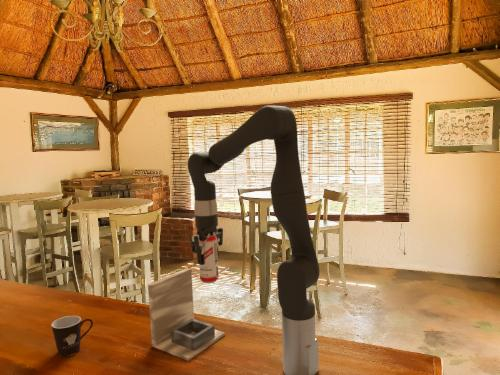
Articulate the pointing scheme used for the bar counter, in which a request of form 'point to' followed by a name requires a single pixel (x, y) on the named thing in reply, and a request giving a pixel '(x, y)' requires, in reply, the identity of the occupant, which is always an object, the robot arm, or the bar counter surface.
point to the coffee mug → (68, 334)
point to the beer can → (209, 261)
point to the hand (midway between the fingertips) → (208, 261)
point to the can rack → (178, 317)
